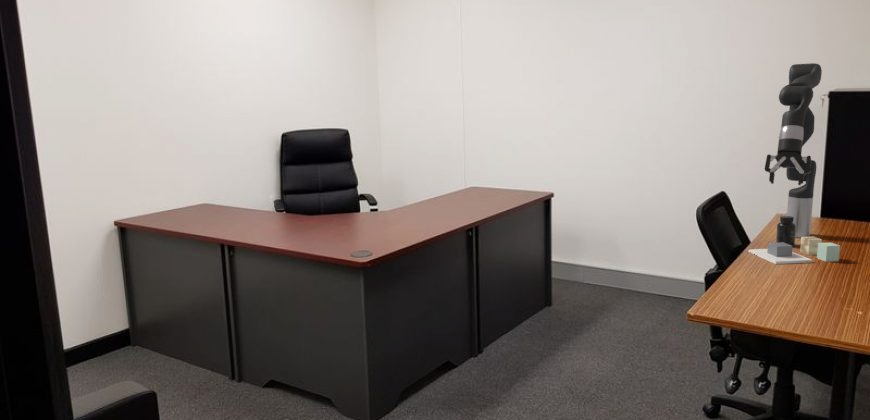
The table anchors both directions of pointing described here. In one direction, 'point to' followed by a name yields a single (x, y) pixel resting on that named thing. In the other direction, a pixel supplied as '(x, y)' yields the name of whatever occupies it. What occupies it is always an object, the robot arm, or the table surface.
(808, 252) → the birch block
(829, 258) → the sage block
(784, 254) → the build plate
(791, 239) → the supplement bottle
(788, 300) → the table surface
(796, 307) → the table surface
